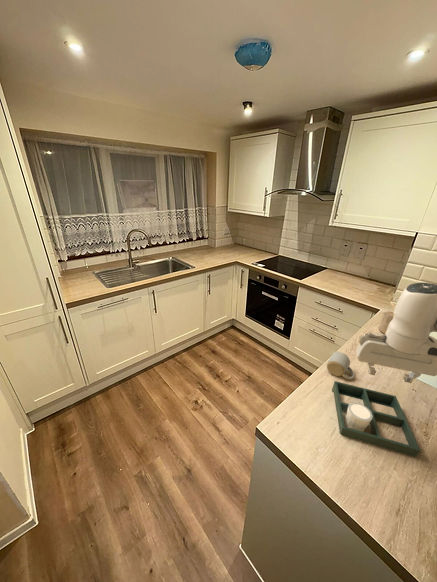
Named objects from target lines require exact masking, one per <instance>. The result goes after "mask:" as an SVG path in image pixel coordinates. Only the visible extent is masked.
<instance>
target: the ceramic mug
mask: <svg viewBox="0 0 437 582" xmlns="http://www.w3.org/2000/svg"><path fill="white" fill-rule="evenodd" d="M350 365H351V360H350V357H349V356H348V355H347V354H346V353H344V352H341V351H335V352H333V353H332V354H331V355H330V357H329V359H328V361H327V363H326V369H327V371H328V372H329V373H330V374H331V375H333V376H336V377H341V376H342V377H343V378H345V379H347V380H348V381H349V380H352V379H354V377H355V372H354V371H353V369H352V368H351V367H350ZM347 371H348V372H349V373H350V376H348V375H347V374H346V372H347Z"/></svg>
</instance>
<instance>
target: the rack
mask: <svg viewBox="0 0 437 582" xmlns="http://www.w3.org/2000/svg"><path fill="white" fill-rule="evenodd" d="M331 392H332V393H333V398H334V404H335V409H336V411H335V412H336V417H337V423H338V429H339V430H338V431H339V435H341V436H343V437H344V436H345V437H348V438H351V439H354V440H358V441H361V442H365V443H367V444H371V445H374V446H376V447H377V446H378V447H382V448H383V449H387V450H391V451H395V452H398V453H401V454H404V455H406V456H410V457H414V458H417V457H418V456H419V455H420V453H421V448H420V447H419V444H418V442H417V440H416V437H415V435H414V433H413V432H412V428H411V427H410V424H409V421H408V420H407V418H406V416H405V413H404V411H403V408H402V406H401V405H400V402H399V400H398V398H397V396H396V395H393V394H390V393H385V392H382V391H377V390H374V389H373V390H372V389H368V388H364V387H361V386H357V385H353V384H349V383H345V382H340V381H336V380H334V381H333V384H332V388H331ZM340 395H342V396H345V397H349V398H353V399H357V400H361V401H362V403H363V405H364V406H366V407H367V408H368V409H369V410H370V411H371V413H372V416H373V417H372V420H371V421H370V423H369V424H368V425H369V427H370V432H371V433H368V432H365V431H363V432H362V431H358V430H355V429H351V428H349V427H348V426H345V419H344V414H343V412H346V413H347V410H348V406H349V404H350V403H348V402H343V401H341V398H340ZM371 403H373V404H377V405H381V406H384V407H388V408H392V409H393V411H394V413H395V415H392V414H388V413H384V412H381V411H377V410H373V407H372V405H371ZM377 421H380V422H383V423H386V424H390V425H393V426H398V427H400V428H401V430H402V432H403V435H404V437H405V439H406V442H407V444H406V443H404V442H403V443H402V442H399V441H396V440H393V439H389V438H386V437H382V436H381V433H380V431H379V428H378V424H377Z"/></svg>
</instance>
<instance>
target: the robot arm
mask: <svg viewBox="0 0 437 582" xmlns="http://www.w3.org/2000/svg"><path fill="white" fill-rule="evenodd" d="M393 312H394V316H393V319H392V320H391V321H390V323H389V325H388V328H387V331H386V333H385V334H377V333H376V334H375V333H372V332H367V333H364V334H361V335H360V338H359V341H358V342H359V343H358V344H357V347H356V350H355V356H356V358H357V360H358V361H359V362H362V363H366V364H367V366H368V369H367V373H368V375H371V376H375V375H376V373H377V370H376V368H375V365H377V366H381V367H386V368H387V367H388V368H392V369H396V370H401V371H405V372H409V373H405V374H404V376H403V379H402V380H403V381H404V382H405V383H407V384H408V383H409V384H412V383H413V381H414V380H415V379H418V378H419V377H421V376H422V375H424V376H425V375H426V376H431V377H436V376H437V338H435V337H433V336H431V333H437V284H436V283H430V282H414V283H410V284H409V285H407V286H406V287H405V288H404V289H403V290H402V292H401V294H400V295H399V297H398V298H397V301H396V304H395V307H394V309H393Z"/></svg>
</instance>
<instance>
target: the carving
mask: <svg viewBox="0 0 437 582" xmlns="http://www.w3.org/2000/svg"><path fill="white" fill-rule="evenodd" d="M393 316H394V311H385V312H384V313H383V315H382V317H381V320H380V321H379V323H378V327H377V330H379V332H381V333H383V335H385V333H386V331H387V328H388V325H389V323H390V321H391V320H392V319H393Z"/></svg>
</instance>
